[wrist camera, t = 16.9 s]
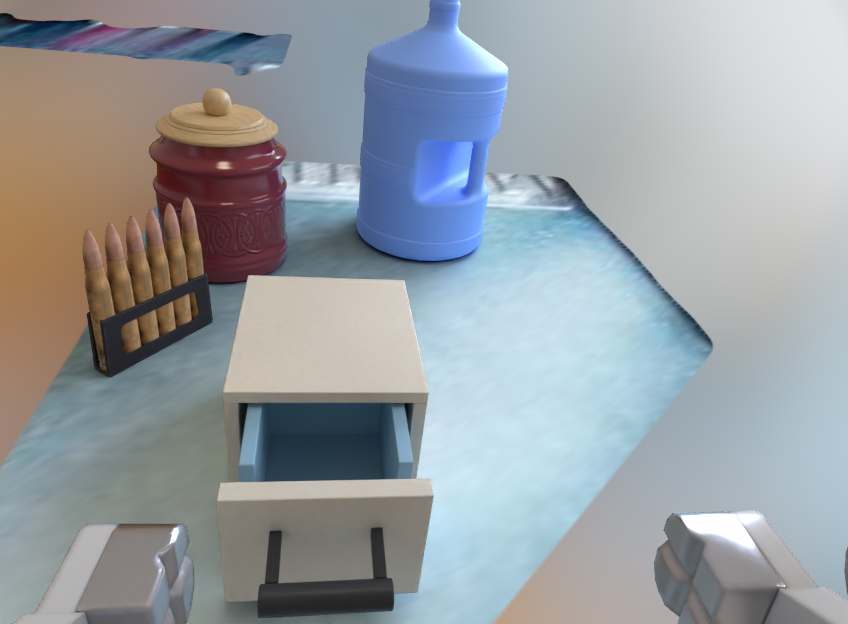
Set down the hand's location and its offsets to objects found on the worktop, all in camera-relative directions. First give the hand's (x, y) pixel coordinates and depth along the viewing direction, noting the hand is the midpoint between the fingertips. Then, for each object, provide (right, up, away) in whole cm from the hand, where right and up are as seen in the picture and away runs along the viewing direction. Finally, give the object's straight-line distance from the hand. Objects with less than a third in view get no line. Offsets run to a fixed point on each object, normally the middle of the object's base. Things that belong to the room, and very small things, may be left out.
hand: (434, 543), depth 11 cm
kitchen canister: (-22, +10, +58) cm, 63 cm away
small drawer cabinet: (-8, -5, +36) cm, 37 cm away
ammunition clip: (-23, +1, +43) cm, 49 cm away
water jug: (-1, +13, +68) cm, 69 cm away
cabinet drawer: (-6, -9, +27) cm, 29 cm away
